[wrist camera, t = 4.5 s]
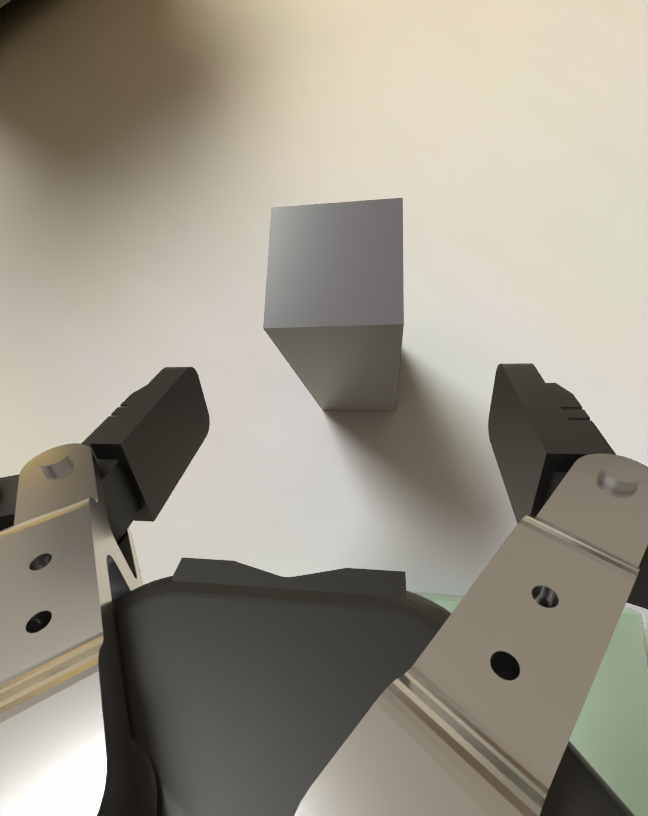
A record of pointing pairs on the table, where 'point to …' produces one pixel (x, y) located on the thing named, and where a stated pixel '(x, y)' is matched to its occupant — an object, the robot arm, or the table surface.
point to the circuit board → (612, 711)
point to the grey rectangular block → (339, 299)
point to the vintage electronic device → (3, 2)
